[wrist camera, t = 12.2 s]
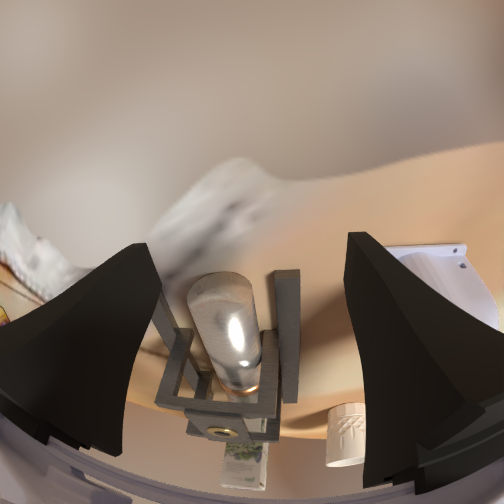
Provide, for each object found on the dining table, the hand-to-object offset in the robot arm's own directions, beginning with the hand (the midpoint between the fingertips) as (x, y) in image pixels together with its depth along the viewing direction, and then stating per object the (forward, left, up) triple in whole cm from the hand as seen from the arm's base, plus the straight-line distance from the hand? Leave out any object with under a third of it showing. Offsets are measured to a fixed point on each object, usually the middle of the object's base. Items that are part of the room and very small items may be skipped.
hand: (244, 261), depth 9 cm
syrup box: (+5, +38, -10) cm, 40 cm away
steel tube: (+4, +18, -7) cm, 20 cm away
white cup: (-11, +39, -10) cm, 42 cm away
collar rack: (+5, +20, -9) cm, 23 cm away
